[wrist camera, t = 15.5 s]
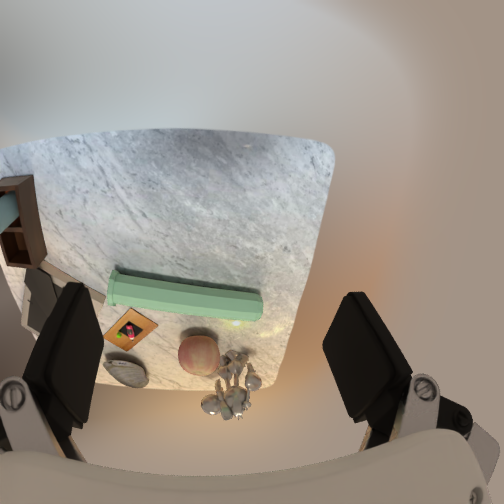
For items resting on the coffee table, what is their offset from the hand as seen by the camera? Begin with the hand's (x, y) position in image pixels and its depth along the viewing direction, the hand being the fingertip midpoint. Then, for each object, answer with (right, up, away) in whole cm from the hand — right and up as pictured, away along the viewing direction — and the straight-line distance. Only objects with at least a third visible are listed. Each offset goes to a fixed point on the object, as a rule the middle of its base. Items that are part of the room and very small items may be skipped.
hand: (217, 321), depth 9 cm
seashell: (-26, -23, +44) cm, 56 cm away
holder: (-36, +8, +23) cm, 43 cm away
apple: (-9, -14, +42) cm, 45 cm away
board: (-23, -13, +38) cm, 47 cm away
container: (-9, -4, +35) cm, 36 cm away
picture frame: (-37, -9, +33) cm, 51 cm away
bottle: (-35, +10, +20) cm, 42 cm away
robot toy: (-4, -22, +47) cm, 52 cm away
